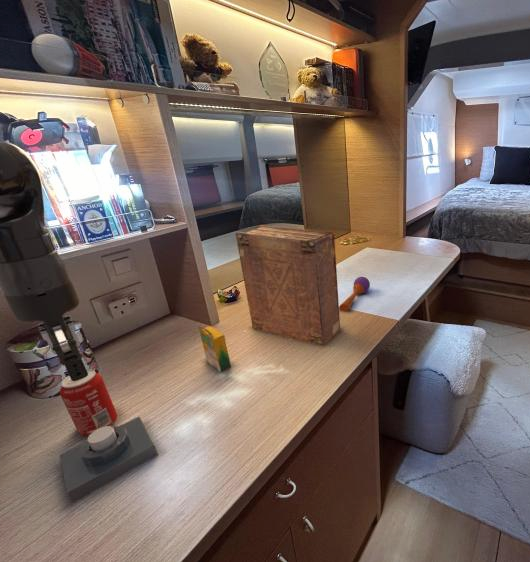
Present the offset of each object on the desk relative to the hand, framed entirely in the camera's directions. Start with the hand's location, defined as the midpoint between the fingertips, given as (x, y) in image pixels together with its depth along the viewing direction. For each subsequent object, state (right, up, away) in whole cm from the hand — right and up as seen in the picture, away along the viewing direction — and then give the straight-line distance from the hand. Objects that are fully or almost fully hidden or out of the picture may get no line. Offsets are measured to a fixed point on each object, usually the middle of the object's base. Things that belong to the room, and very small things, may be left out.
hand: (80, 377), depth 58 cm
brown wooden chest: (+27, +1, +43) cm, 51 cm away
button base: (+3, -16, +3) cm, 16 cm away
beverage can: (-5, -13, +11) cm, 18 cm away
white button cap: (+3, -12, +1) cm, 12 cm away
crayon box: (+11, -5, +28) cm, 31 cm away
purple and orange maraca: (+43, +10, +62) cm, 76 cm away
